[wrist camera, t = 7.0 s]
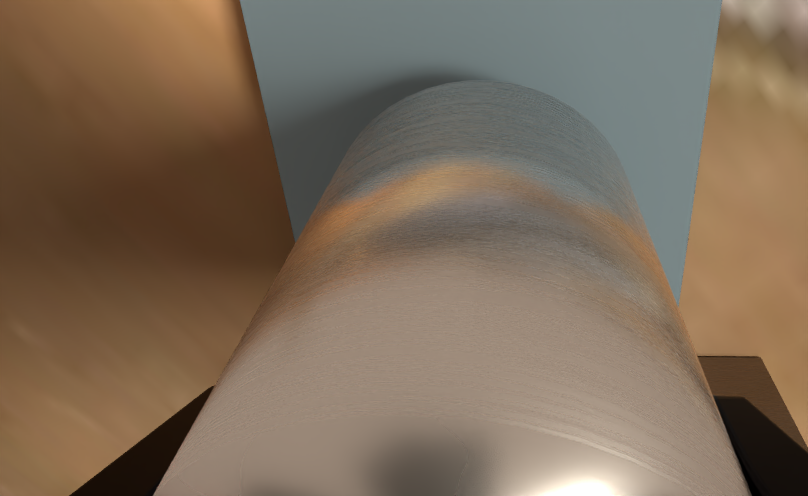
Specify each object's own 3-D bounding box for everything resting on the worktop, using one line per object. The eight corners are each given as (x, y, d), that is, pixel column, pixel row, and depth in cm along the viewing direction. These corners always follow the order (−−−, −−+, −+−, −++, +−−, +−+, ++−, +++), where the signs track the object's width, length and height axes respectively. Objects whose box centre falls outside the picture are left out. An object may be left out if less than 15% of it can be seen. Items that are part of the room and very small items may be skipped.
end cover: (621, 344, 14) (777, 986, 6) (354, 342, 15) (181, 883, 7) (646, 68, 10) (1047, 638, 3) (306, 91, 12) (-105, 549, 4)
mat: (663, 327, 16) (671, 352, 15) (328, 326, 18) (319, 349, 17) (712, -57, 12) (729, -50, 11) (256, -11, 13) (239, -2, 12)
